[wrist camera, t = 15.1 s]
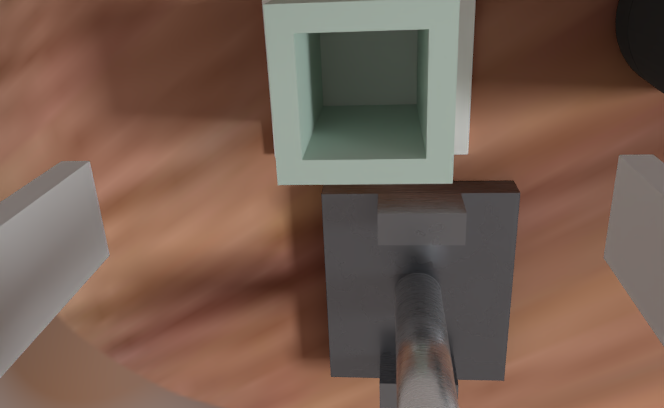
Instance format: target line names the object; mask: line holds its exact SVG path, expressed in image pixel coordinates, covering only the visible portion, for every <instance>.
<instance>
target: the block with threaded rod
mask: <svg viewBox="0 0 664 408" xmlns="http://www.w3.org/2000/svg"><path fill="white" fill-rule="evenodd" d="M321 196H322V215H323V234H324V253H325V272H326V291H327V310H328V329H329V348H330V367H331V377H363V378H380V408H459V406H458V380H502V381H504V374H505V363H506V351H507V340H508V328H509V317H510V305H511V294H512V282H513V270H514V259H515V247H516V236H517V224H518V213H519V201H520V191H519V190H518V188H517V186H516V184H515V182H514V181H453V184H350V185H324V186H323V190H322V194H321Z"/></svg>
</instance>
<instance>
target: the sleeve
mask: <svg viewBox="0 0 664 408" xmlns="http://www.w3.org/2000/svg"><path fill="white" fill-rule="evenodd" d="M263 10H264V22H265V34H266V46H267V59H268V71H269V83H270V95H271V107H272V119H273V131H274V144H275V156H276V168H277V180H278V185H350V184H453V163H454V137H455V112H456V86H457V61H458V36H459V10H460V0H271V1H269V2H267V3H265V4H263ZM389 30H418V38H417V104H398V105H349V106H323V88H322V68H321V47H320V33H326V32H358V31H389Z"/></svg>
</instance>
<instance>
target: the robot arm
mask: <svg viewBox="0 0 664 408" xmlns="http://www.w3.org/2000/svg"><path fill="white" fill-rule="evenodd" d="M109 256H110V255H109V250H108V246H107V241H106V236H105V231H104V227H103V222H102V217H101V212H100V208H99V203H98V198H97V193H96V189H95V184H94V179H93V174H92V170H91V165H90V161H61V162H60V163H58V164H57V165H55V166H54V167H52V168H51V169H49V170H48V171H46V172H45V173H43V174H42V175H40V176H39V177H37V178H36V179H34V180H33V181H31V182H30V183H28V184H27V185H25V186H24V187H22V188H21V189H19V190H18V191H16V192H15V193H13V194H12V195H10V196H9V197H7V198H6V199H4V200H3V201H1V202H0V378H1V377H2V376H3V374H4V373H5V372H6V371H7V370H8V369H9V368H10V367H11V365H12V364H13V363H14V362H15V361H16V360H17V359H18V357H19V356H20V355H21V354H22V353H23V352H24V351H25V350H26V349H27V348H28V346H29V345H30V344H31V343H32V342H33V340H35V339H36V337H37V336H38V335H39V334H40V333H41V332H42V331H43V330H44V328H45V327H46V326H47V325H48V324H49V323H50V322H51V321H52V319H53V318H54V317H55V316H56V315H57V314H58V313H59V312H60V311H61V309H62V308H63V307H64V306H65V305H66V304H67V303H68V302H69V300H70V299H71V298H72V297H73V296H74V295H75V294H76V293H77V291H78V290H79V289H80V288H81V287H82V286H83V285H84V284H85V283H86V281H87V280H88V279H89V278H90V277H91V276H92V275H93V274H94V272H95V271H96V270H97V269H98V268H99V267H100V266H101V265H102V263H103V262H104V261H105V260H106V259H107V258H108V257H109ZM604 259H605V260H606V262H607V263H608V265H609V266H610V268H611V269H612V271H613V272H614V274H615V275H616V277H617V278H618V280H619V281H620V283H621V284H622V286H623V287H624V289H625V290H626V291H627V293H628V294H629V296H630V297H631V299H632V300H633V302H634V303H635V305H636V306H637V308H638V309H639V311H640V312H641V314H642V315H643V317H644V318H645V320H646V321H647V323H648V324H649V325H650V327H651V328H652V330H653V331H654V333H655V334H656V336H657V337H658V339H659V340H660V342H661V343H662V345H663V346H664V163H663V162H662V161H660V160H659V159H658V158H657V157H655V156H654V155H619V160H618V166H617V173H616V179H615V186H614V193H613V199H612V206H611V212H610V219H609V225H608V232H607V239H606V245H605V252H604Z"/></svg>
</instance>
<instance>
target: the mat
mask: <svg viewBox="0 0 664 408" xmlns="http://www.w3.org/2000/svg"><path fill="white" fill-rule="evenodd" d="M269 1H271V0H262V8H263V4H265V3H267V2H269ZM475 3H476V0H460V10H459V36H458V61H457V86H456V112H455V137H454V154H468V146H469V126H470V105H471V85H472V64H473V44H474V23H475ZM263 20H264V10H263ZM264 32H265V22H264ZM417 38H418V30H389V31H358V32H326V33H320V47H321V68H322V88H323V106H349V105H398V104H417ZM265 44H266V34H265ZM266 56H267V46H266ZM267 68H268V59H267ZM268 80H269V71H268ZM269 92H270V83H269ZM270 104H271V95H270ZM271 116H272V107H271ZM272 128H273V119H272ZM273 140H274V131H273ZM274 152H275V144H274ZM275 157H276V156H275Z"/></svg>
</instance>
